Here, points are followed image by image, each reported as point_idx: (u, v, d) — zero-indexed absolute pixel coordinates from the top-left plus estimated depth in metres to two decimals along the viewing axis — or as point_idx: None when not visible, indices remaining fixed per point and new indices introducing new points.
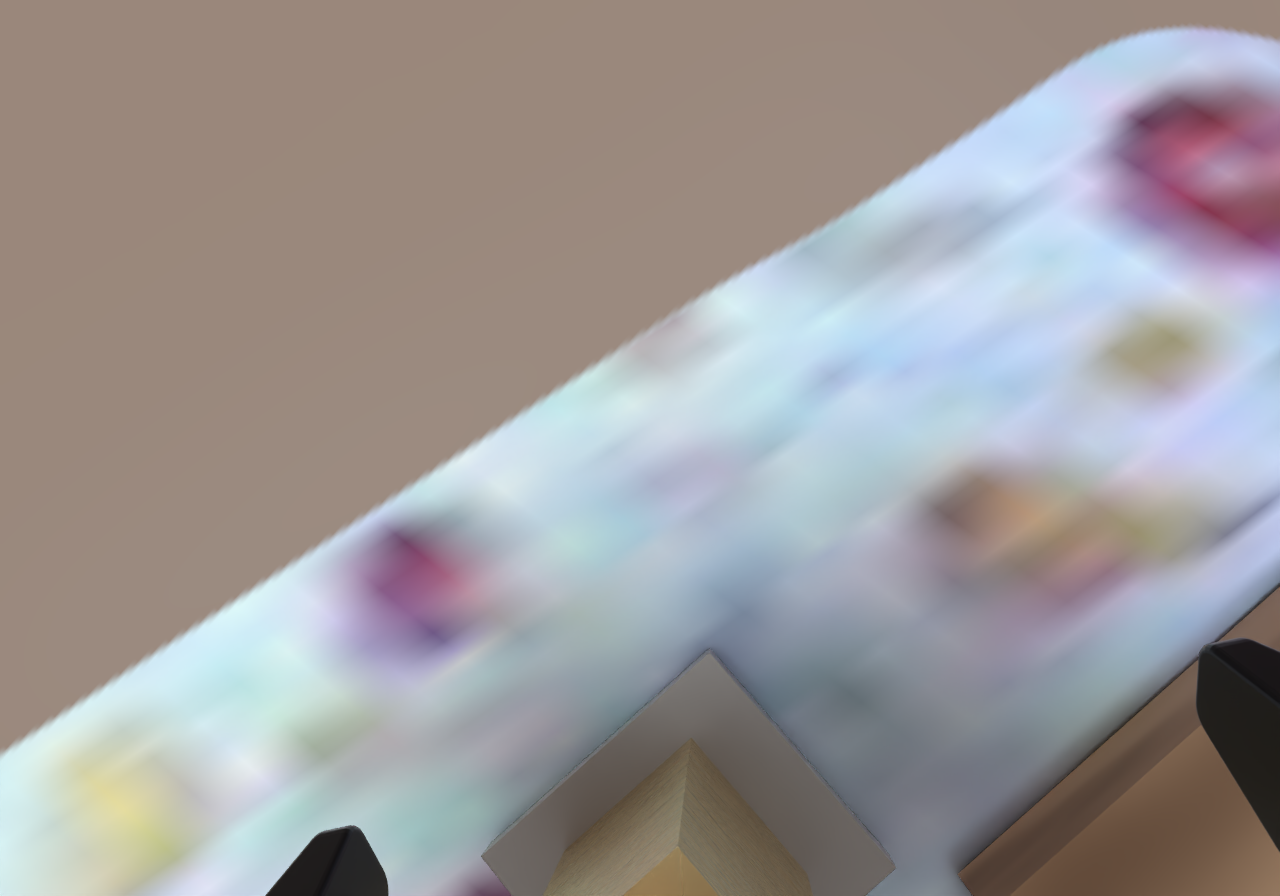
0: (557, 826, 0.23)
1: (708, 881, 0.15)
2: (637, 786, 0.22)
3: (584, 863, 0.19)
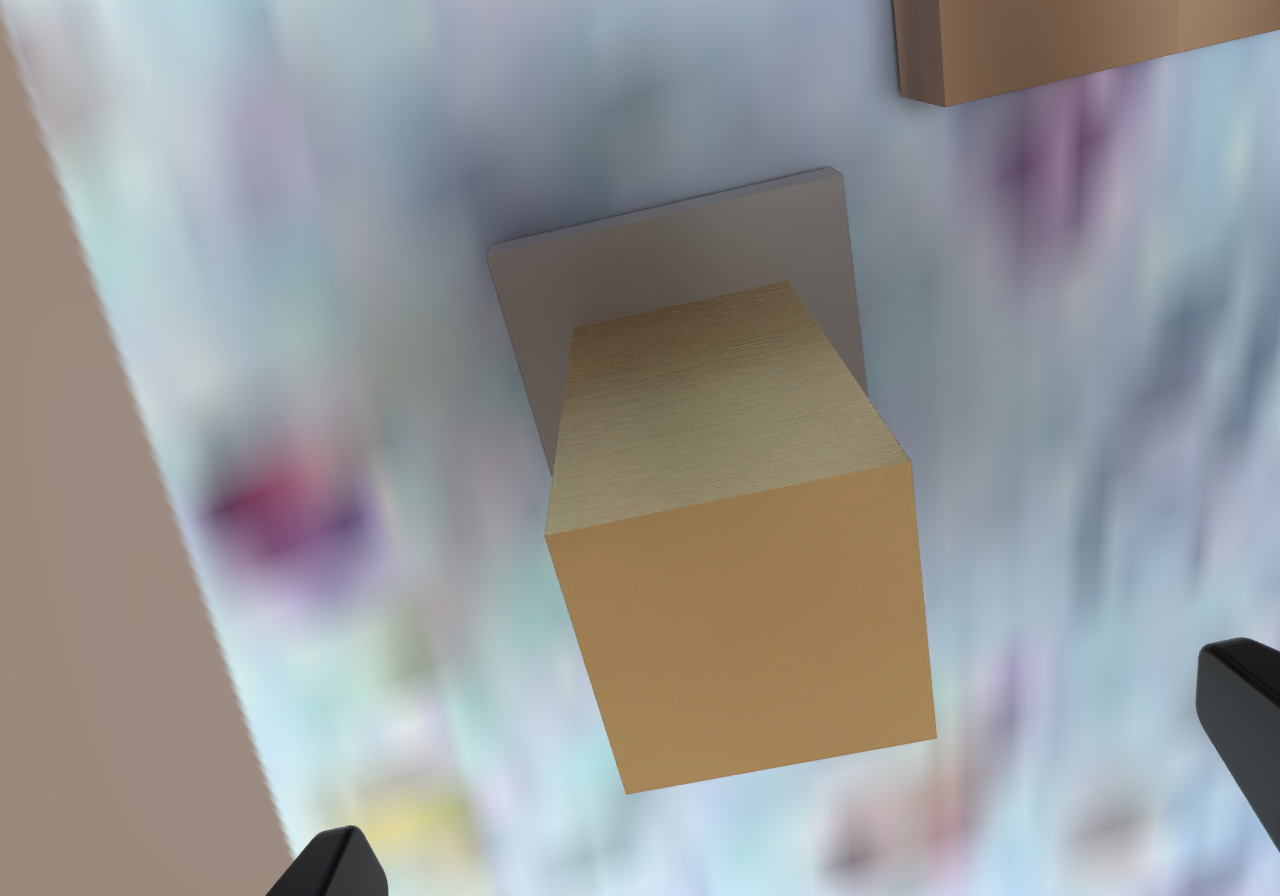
0: None
1: (607, 519, 0.10)
2: None
3: None
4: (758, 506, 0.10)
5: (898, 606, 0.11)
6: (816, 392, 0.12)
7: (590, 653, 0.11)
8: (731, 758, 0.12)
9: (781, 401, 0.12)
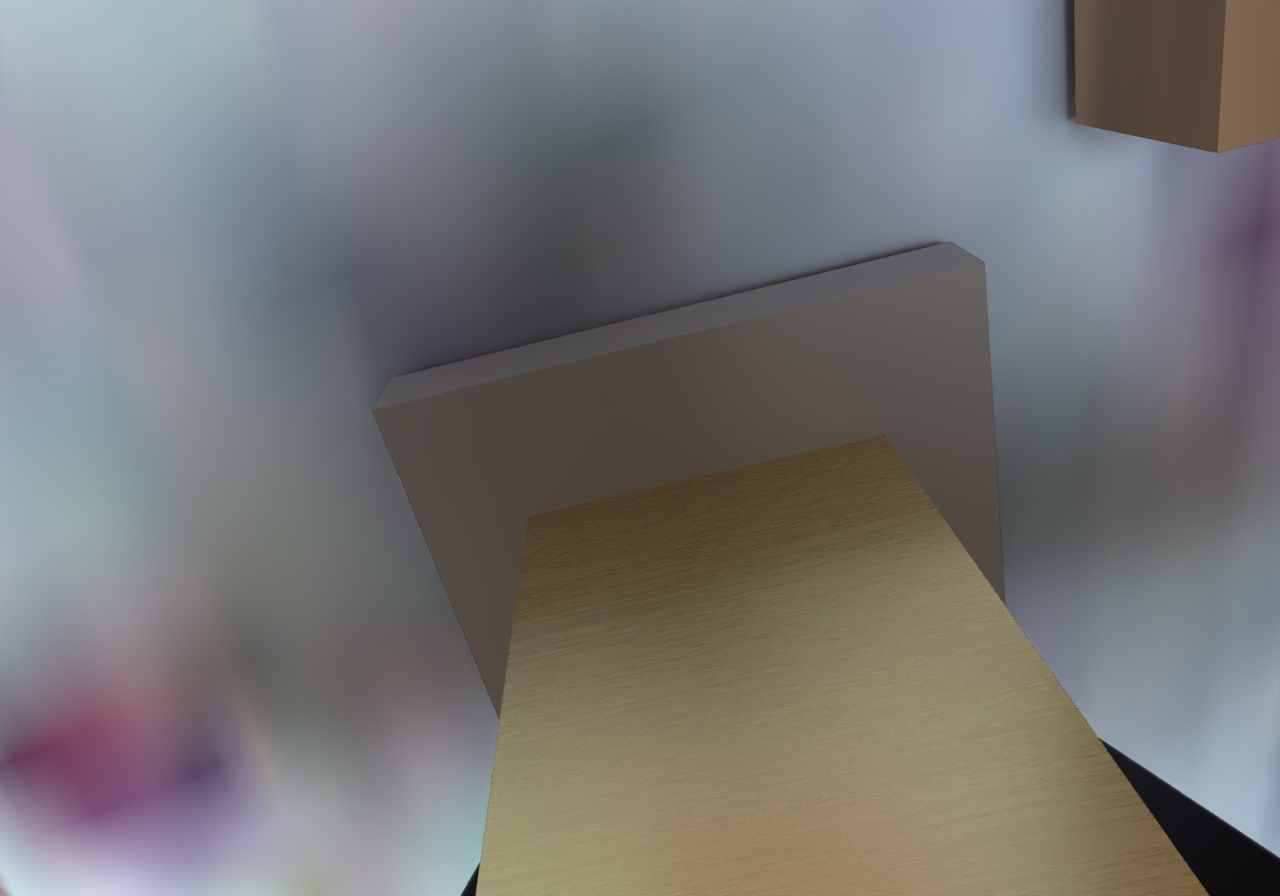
0: None
1: None
2: None
3: None
4: None
5: None
6: (1057, 837, 0.05)
7: None
8: None
9: (978, 861, 0.05)
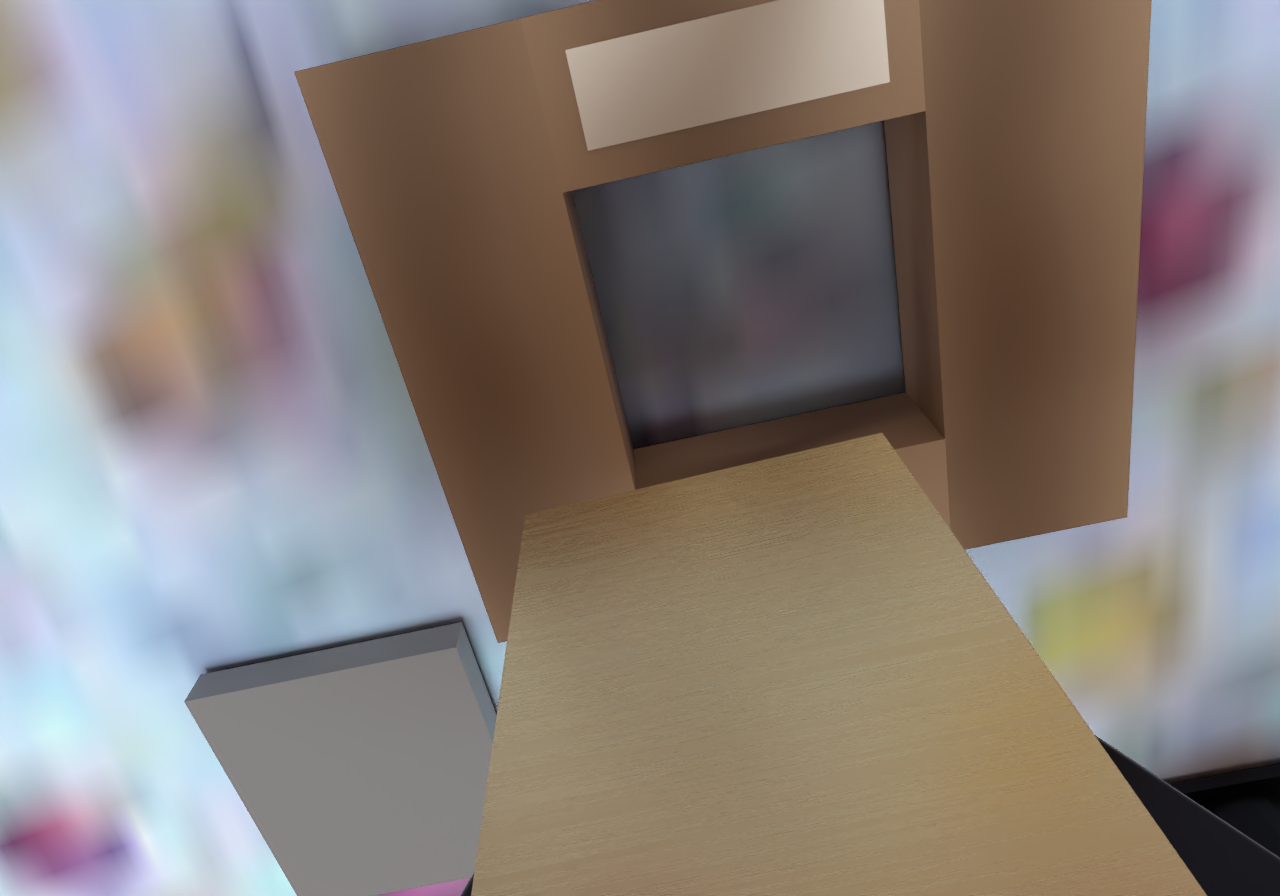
0: (302, 855, 0.24)
1: None
2: None
3: None
4: None
5: None
6: (1054, 835, 0.05)
7: None
8: None
9: (975, 858, 0.05)
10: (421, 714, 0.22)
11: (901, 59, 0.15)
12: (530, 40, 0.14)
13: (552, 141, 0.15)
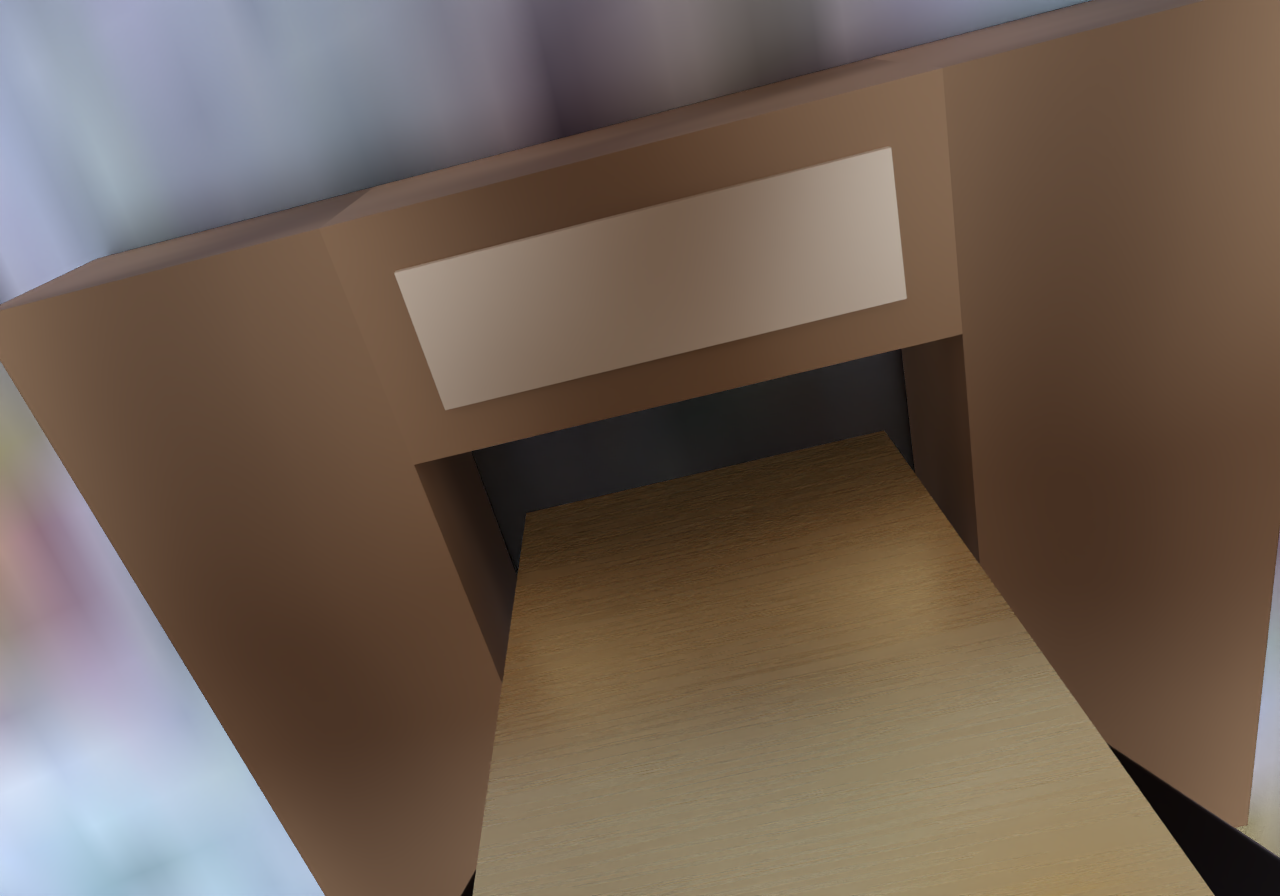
0: None
1: None
2: None
3: None
4: None
5: None
6: (1057, 833, 0.05)
7: None
8: None
9: (978, 856, 0.05)
10: None
11: (924, 264, 0.09)
12: (339, 259, 0.09)
13: (390, 397, 0.10)
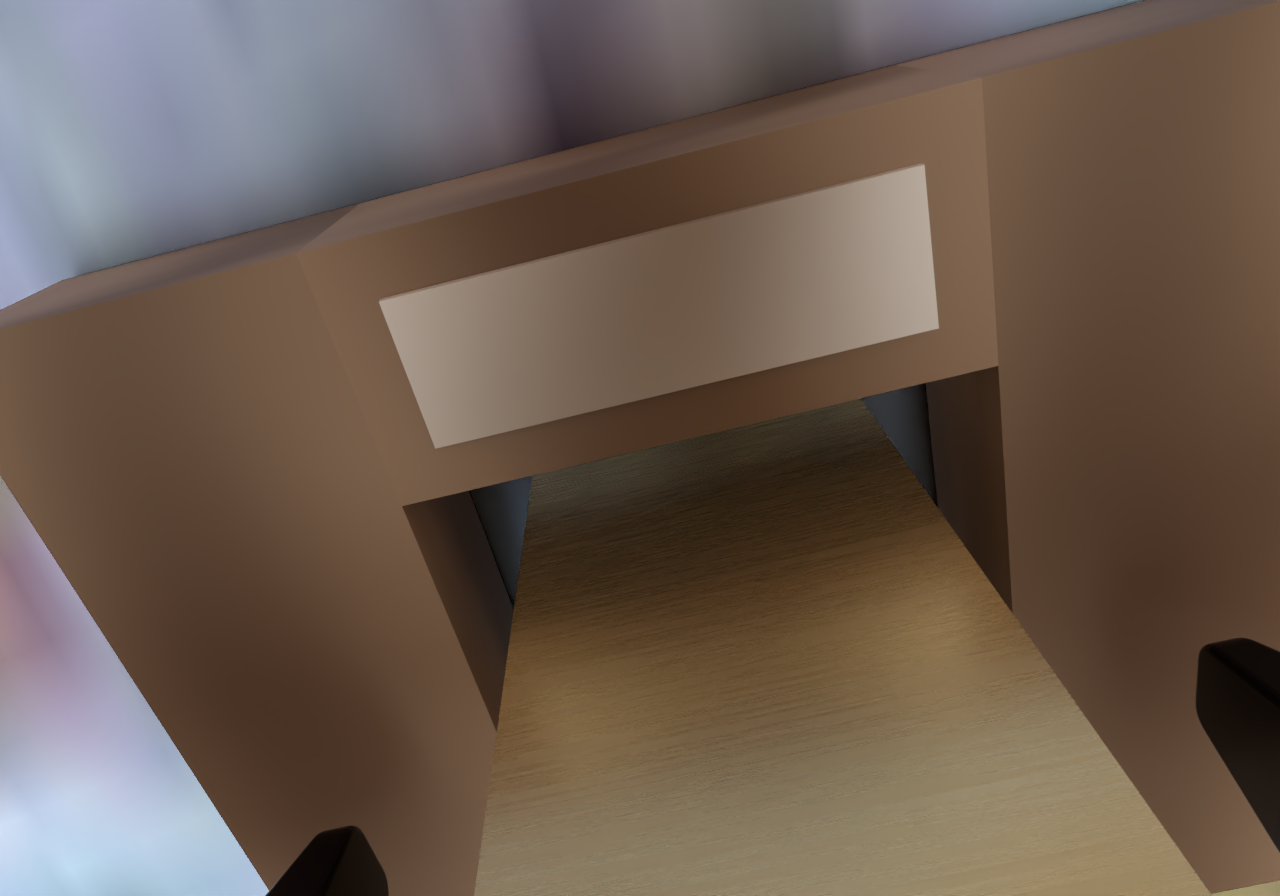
0: None
1: None
2: None
3: None
4: None
5: None
6: (963, 669, 0.07)
7: None
8: None
9: (900, 687, 0.07)
10: None
11: (958, 291, 0.09)
12: (319, 286, 0.08)
13: (376, 434, 0.09)
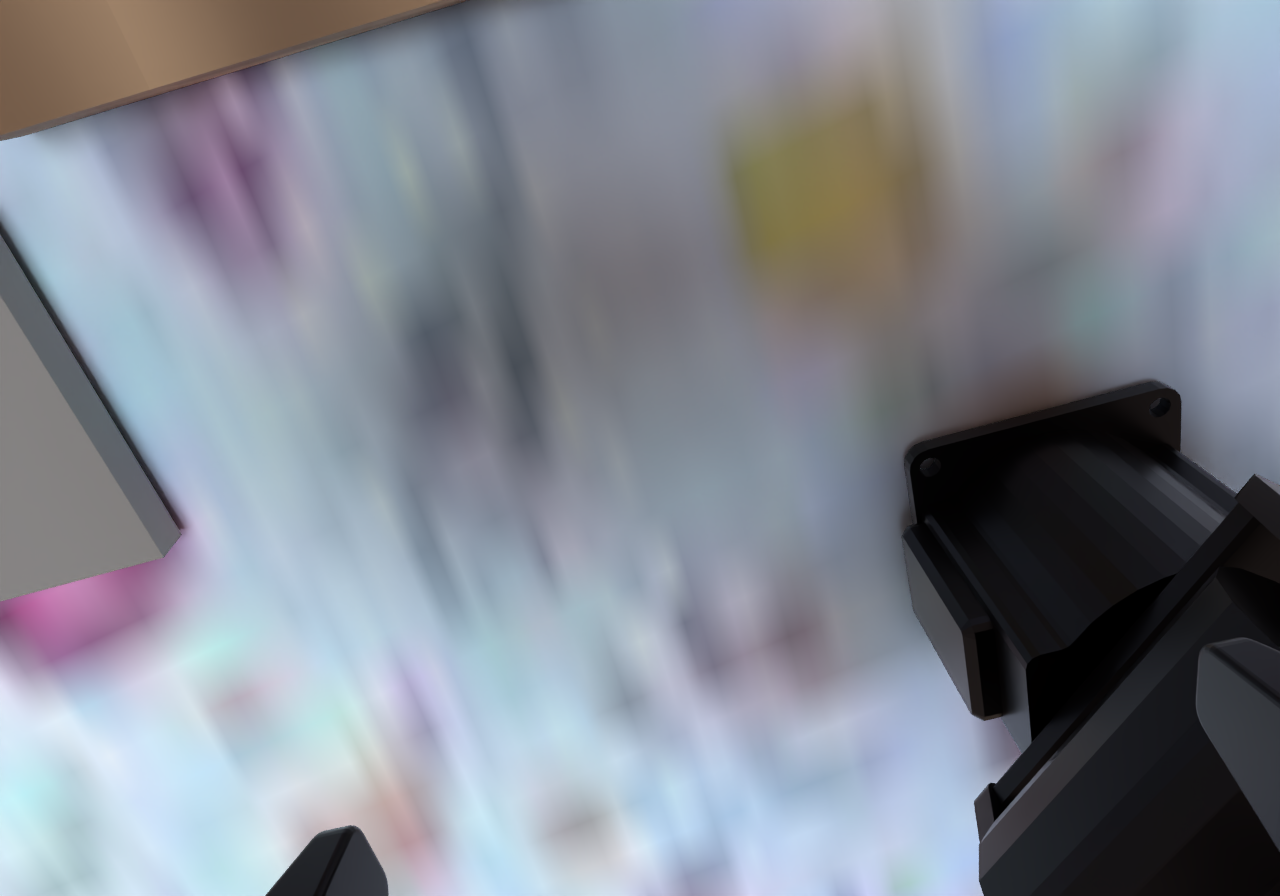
0: None
1: None
2: None
3: None
4: None
5: None
6: None
7: None
8: None
9: None
10: None
11: None
12: None
13: None
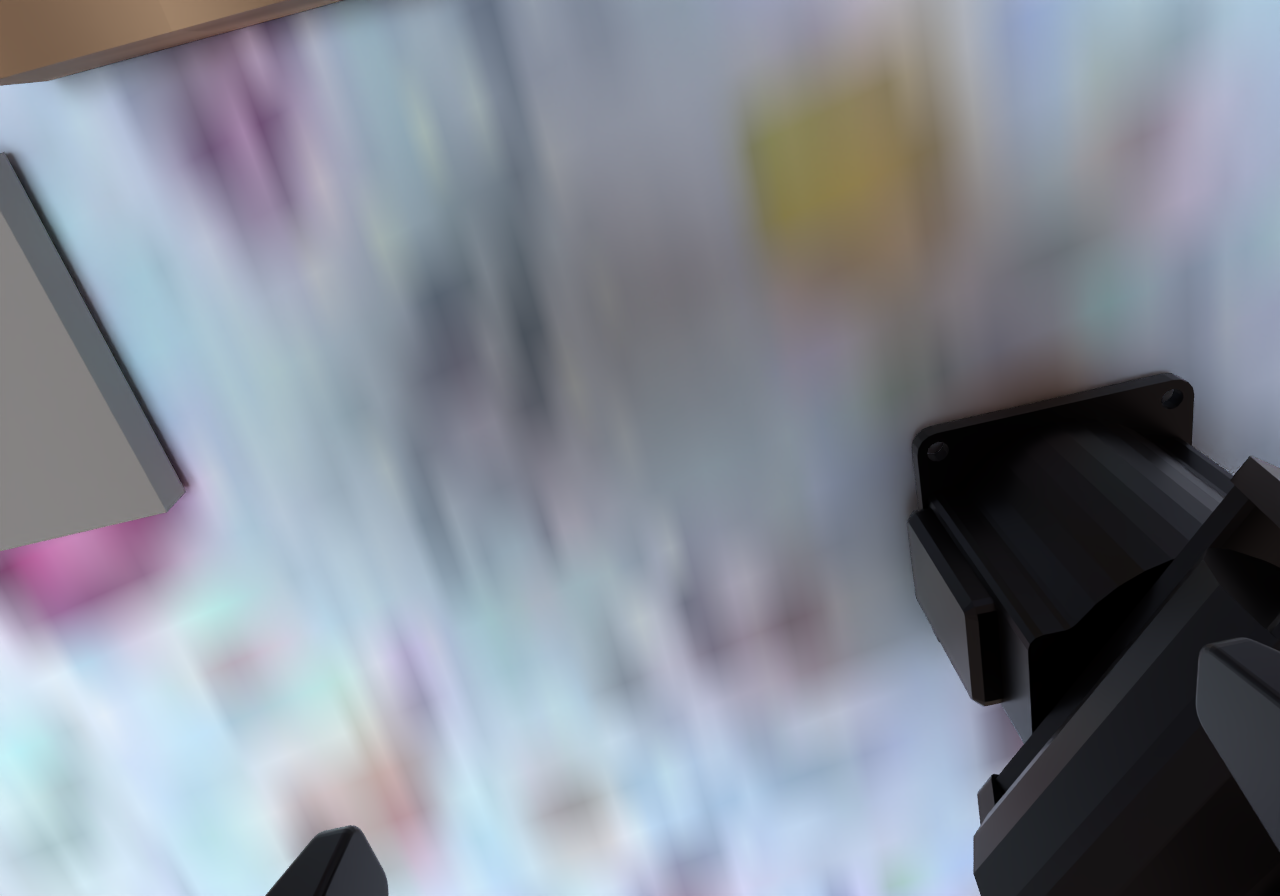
0: None
1: None
2: None
3: None
4: None
5: None
6: None
7: None
8: None
9: None
10: None
11: None
12: None
13: None
